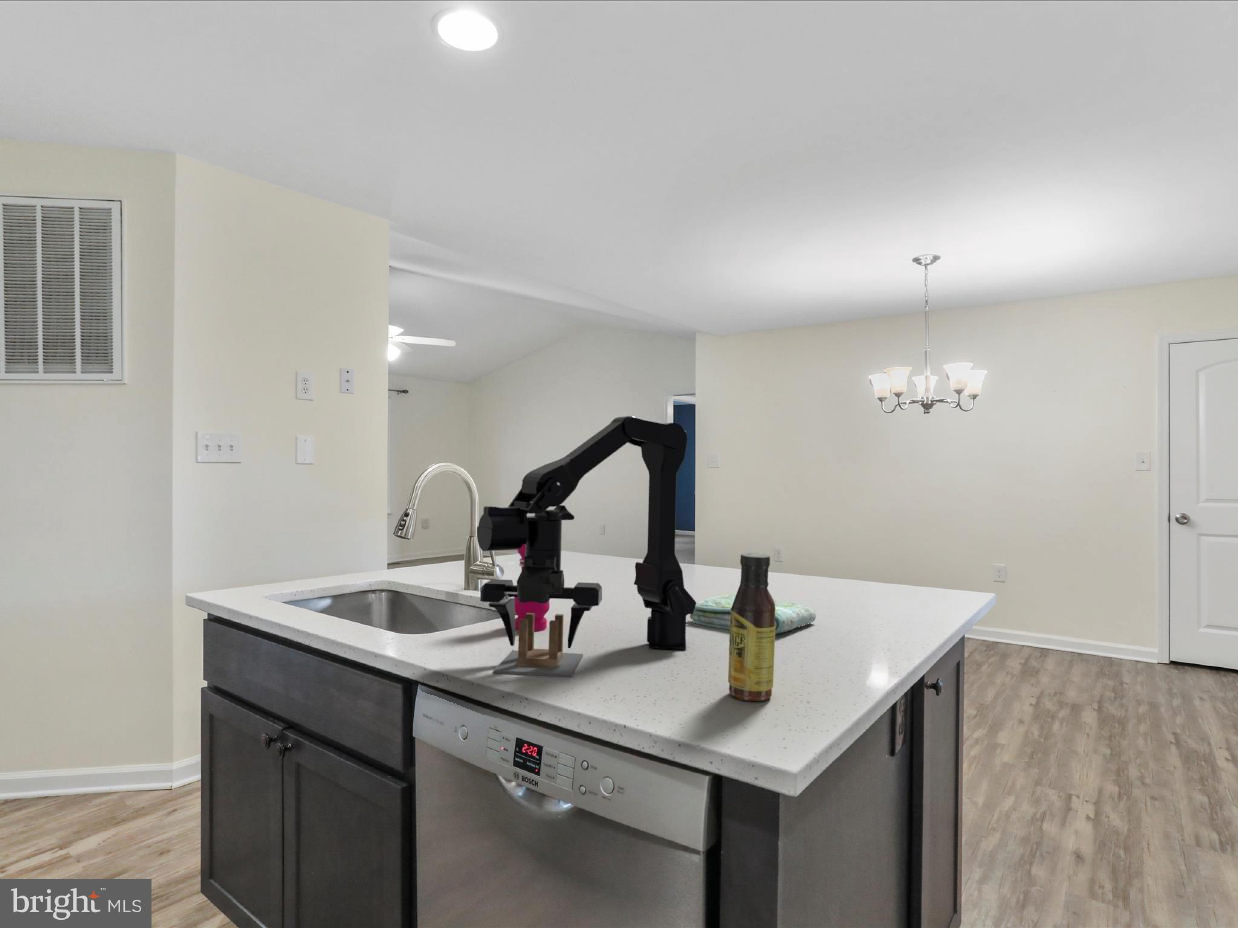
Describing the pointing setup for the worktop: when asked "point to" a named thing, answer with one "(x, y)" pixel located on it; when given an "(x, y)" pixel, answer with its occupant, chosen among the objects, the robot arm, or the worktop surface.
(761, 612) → the sauce bottle
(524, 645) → the stool
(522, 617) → the pepper mill
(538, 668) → the mat
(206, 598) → the worktop surface
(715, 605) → the towel
